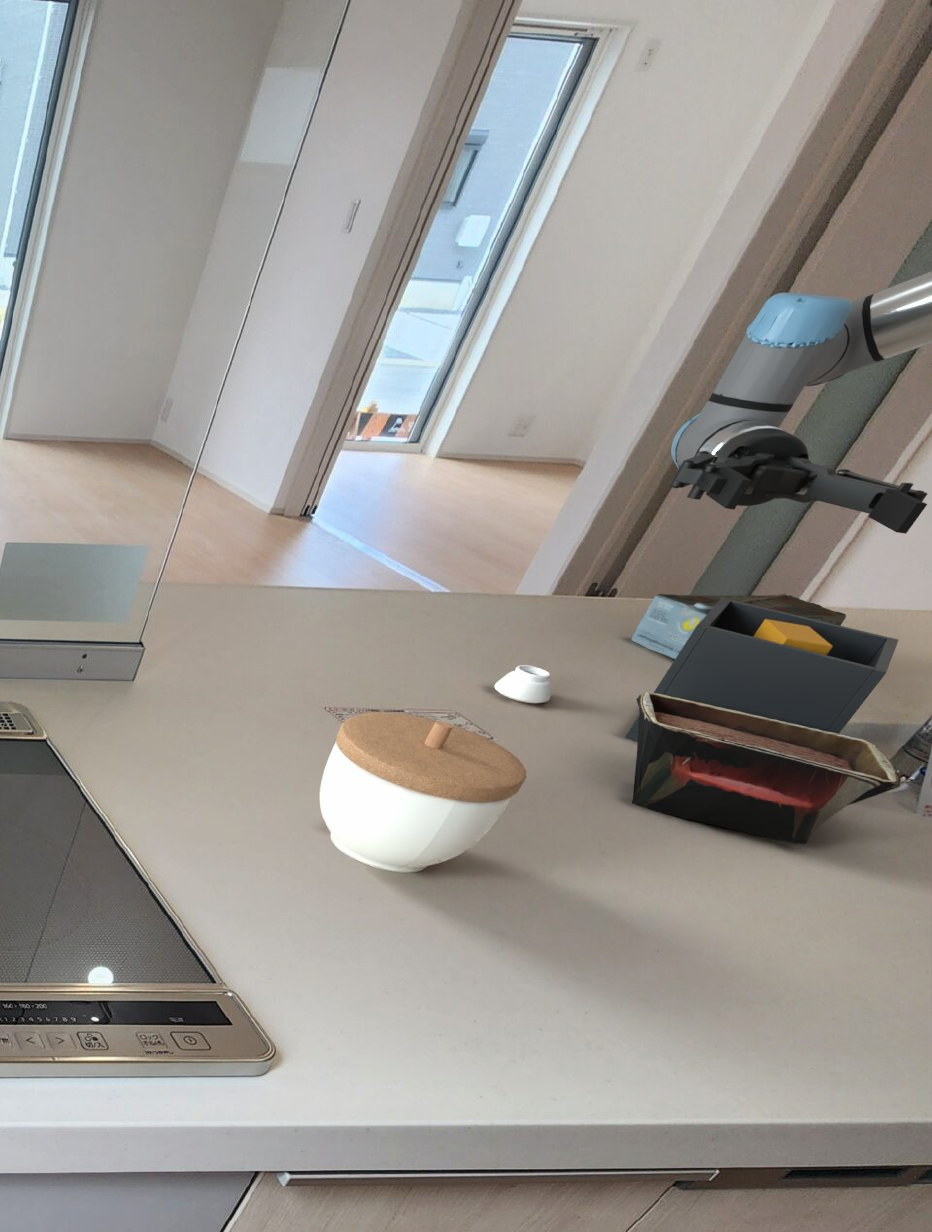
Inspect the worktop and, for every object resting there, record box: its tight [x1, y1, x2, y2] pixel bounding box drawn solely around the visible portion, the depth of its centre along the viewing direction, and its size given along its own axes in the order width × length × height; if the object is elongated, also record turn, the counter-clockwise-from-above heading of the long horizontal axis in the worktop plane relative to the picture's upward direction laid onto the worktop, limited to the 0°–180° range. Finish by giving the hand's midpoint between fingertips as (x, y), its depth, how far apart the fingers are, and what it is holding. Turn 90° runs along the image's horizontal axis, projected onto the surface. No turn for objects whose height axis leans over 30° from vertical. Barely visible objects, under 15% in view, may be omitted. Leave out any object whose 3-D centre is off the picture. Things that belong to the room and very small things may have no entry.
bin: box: [624, 598, 899, 743], centre depth 104 cm, size 14×14×12 cm
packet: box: [753, 619, 833, 655], centre depth 104 cm, size 4×6×11 cm, turn 155°
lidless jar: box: [494, 664, 552, 704], centre depth 114 cm, size 5×3×5 cm
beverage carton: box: [630, 593, 847, 660], centre depth 128 cm, size 8×19×7 cm, turn 96°
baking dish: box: [631, 691, 901, 845], centre depth 94 cm, size 14×18×10 cm
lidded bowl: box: [319, 712, 527, 874], centre depth 83 cm, size 13×13×11 cm
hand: (823, 506), depth 102 cm, fingers open, 13 cm apart
